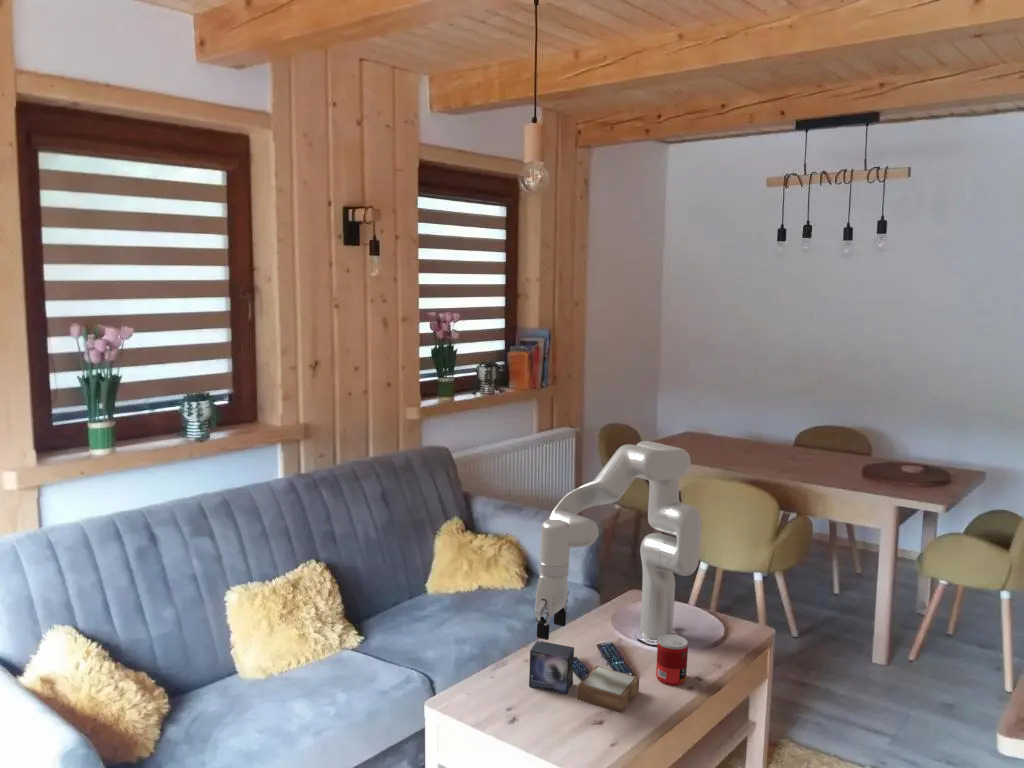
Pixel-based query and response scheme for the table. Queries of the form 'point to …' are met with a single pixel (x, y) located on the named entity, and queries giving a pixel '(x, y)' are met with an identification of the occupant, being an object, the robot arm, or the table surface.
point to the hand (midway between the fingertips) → (551, 631)
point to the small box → (551, 667)
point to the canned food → (672, 659)
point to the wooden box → (608, 689)
